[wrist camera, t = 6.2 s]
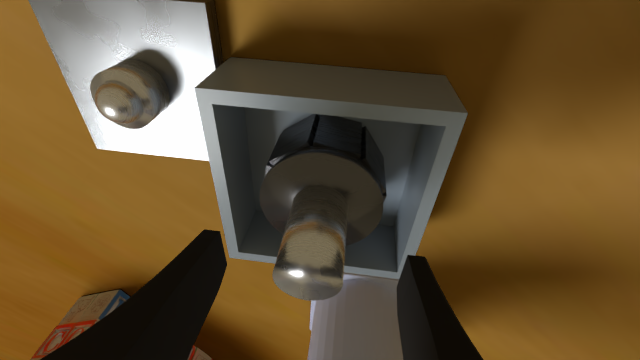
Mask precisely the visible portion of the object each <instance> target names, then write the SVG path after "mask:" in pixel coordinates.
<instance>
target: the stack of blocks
mask: <svg viewBox="0 0 640 360" xmlns="http://www.w3.org/2000/svg"><path fill="white" fill-rule="evenodd" d="M129 298H130V296H128V295H127V294H126V293H124V292H123V291H122V290H114V291H109V292H104V293H100V294H98V293H97V294H93V295H88V296H83V297H80V298H79V299H78V300H77V302H76V303H75V304H74V305H73V307H72V308H71V309H70V310H69V312H68V313H67V314H66V316H65V317H64V318H63V319H62V321H61V322H60V323H59V325H58V326H56V327H55V328H54V330H53V331H52V332H51V334H50V335H49V336H48V337H47V339H46V340H45V341H44V342H43V344H42V345H41V346H40V347H39V349H38V350H37V351H36V353H35V354H34V356H33V357H32V358H31V360H40V359H41V358H43V357H45V356H46V355H48V354H49V353H51V352H53V351H54V350H56V349H58V348H59V347H61V346H62V345H64V344H66V343H67V342H69V341H70V340H72V339H73V338H75V337H76V336H78V335H79V334H81V333H82V332H84V331H85V330H87V329H88V328H90V327H91V326H92V325H94V324H95V323H97V322H98V321H100V320H101V319H102V318H104V317H105V316H107V315H108V314H109V313H111V312H112V311H113V310H115V309H116V308H117V307H119V306H120V305H121V304H122V303H124V302H125V301H126V300H127V299H129ZM188 360H213V359H212V358H211V357H209V356H208V355H207V354H205V353H204V352H203V351H202V350H200V349H199V348H197V347H195V346H194V345H193V347H192V350H191V352H190V355H189V357H188Z"/></svg>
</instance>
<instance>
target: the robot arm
mask: <svg viewBox="0 0 640 360" xmlns="http://www.w3.org/2000/svg"><path fill="white" fill-rule="evenodd" d="M226 266H227V262H226V257H225V253H224V248H223V244H222V239H221V234H220V231H212V230H203V231H202V232H201V233H200V234H199V235H198V236H197V237H196V238H195V239H194V240H193V241H192V242H191V243H190V244H189V245H188V246H187V247H186V248H185V249H184V250H183V251H182V252H181V253H180V254H179V255H178V256H177V257H175V258H174V259H173V260H172V261H171V262H170V263H169V264H168V265H167V266H166V267H165V268H164V269H163V270H161V271H160V272H159V273H158V274H157V275H156V276H155V277H154V278H152V279H151V280H150V281H149V282H148V283H147V284H145V285H144V286H143V287H142V288H141V289H140V290H138V291H137V292H136V293H135V294H134V295H132V296H131V297H130V298H129V299H127V300H126V301H125V302H124V303H122V304H121V305H120V306H119V307H117V308H116V309H115V310H113V311H112V312H111V313H109V314H108V315H107V316H105V317H104V318H102V319H101V320H100V321H98V322H97V323H95V324H94V325H92V326H91V327H90V328H88V329H87V330H85V331H84V332H82V333H81V334H79V335H78V336H76V337H75V338H73V339H72V340H70V341H69V342H67V343H66V344H64V345H62V346H61V347H59V348H58V349H56V350H54V351H53V352H51V353H49V354H48V355H46V356H45V357H43V358H41V359H40V360H188V357H189V355H190V352H191V350H192V347H193V345H194V343H195V341H196V339H197V336H198V334H199V332H200V330H201V328H202V326H203V323H204V321H205V319H206V317H207V315H208V313H209V311H210V308H211V306H212V304H213V302H214V300H215V297H216V295H217V293H218V291H219V288H220V285H221V282H222V279H223V276H224V273H225V270H226ZM310 330H311V339H310V346H309V353H308V360H483V358H482V357H481V355H480V354H479V352H478V351H477V349H476V348H475V346H474V345H473V343H472V342H471V340H470V339H469V337H468V335H467V334H466V332H465V331H464V329H463V327H462V326H461V324H460V322H459V321H458V319H457V317H456V316H455V314H454V312H453V310H452V308H451V307H450V305H449V303H448V301H447V300H446V298H445V296H444V294H443V292H442V290H441V288H440V286H439V284H438V283H437V281H436V279H435V277H434V274H433V272H432V270H431V268H430V266H429V264H428V262H427V260H426V258H425V257H422V256H414V255H407V258H406V261H405V264H404V267H403V270H402V273H401V276H400V278H399V279H392V278H384V277H377V276H369V275H361V274H353V273H346V272H344V276H343V287H342V289H341V291H340V292H339V293H338V294H337V295H335V296H333V297H331V298H329V299H325V300H318V301H312V300H311V313H310Z"/></svg>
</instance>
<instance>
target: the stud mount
mask: <svg viewBox="0 0 640 360" xmlns="http://www.w3.org/2000/svg"><path fill="white" fill-rule="evenodd" d="M29 2H30V5H31V7H32V9H33V11H34V13H35V15H36V17H37V20H38V22H39V24H40V26H41V28H42V30H43V33H44V35H45V37H46V39H47V41H48V43H49V45H50V48H51V50H52V52H53V54H54V56H55V58H56V61H57V63H58V65H59V67H60V69H61V71H62V73H63V76H64V78H65V80H66V82H67V84H68V86H69V88H70V91H71V93H72V95H73V97H74V99H75V101H76V104H77V106H78V108H79V110H80V112H81V114H82V116H83V119H84V121H85V123H86V125H87V127H88V129H89V132H90V134H91V136H92V138H93V140H94V142H95V144H96V147H97V149H104V150H113V151H123V152H132V153H141V154H150V155H160V156H169V157H178V158H187V159H196V160H206V161H209V157H208V152H207V147H206V142H205V138H204V133H203V128H202V123H201V118H200V114H199V109H198V104H197V99H196V94H195V90H194V87H196V86H197V85H198V84H199V83H200V82H201V81H203V80H204V79H205V78H206V77H207V76H209V75H210V74H211V73H212V72H213V71H215V70H216V69H217V68H218V67H219V66H220V65H222V64H223V57H222V50H221V43H220V36H219V29H218V22H217V15H216V8H215V1H214V0H29Z"/></svg>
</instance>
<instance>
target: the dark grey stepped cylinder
mask: <svg viewBox="0 0 640 360" xmlns="http://www.w3.org/2000/svg"><path fill="white" fill-rule="evenodd" d="M386 197H387V194H386V180H385V168H384V156H383V155H382V153H381V151H380V149H379V148H378V146H377V144H376V142H375V141H374V139H373V137H372V136H371V134H370V132H369V130H368V129H367V127H366V126H364V127H362V123H361V122H357V121H354V120H350V119H346V118H343V117H339V116H332V115H321V116H320V117H319V116H318V114H312V115H310V116H309V117H307V118H305V119H303V120H301V121H299V122H297V123H295V124H293V125H292V126H290V127H288V128H286V129H284V130H283V131H282V134H280V136H279V138H278V140H277V142H276V145H275V147H274V149H273V151H272V154H271V156H270V158H269V160H268V163H267V165H266V171H265V177H264V180H263V183H262V185H261V189H260V196H259V198H260V205H261V208H262V211H263V213H264V215H265V217H266V218H267V220H268V221H269V223H270V224H271V225H272V226H273V227H274V228H275V229H276V230H277V231H279V232H280V233H281V234H283V238H282V242H281V245H280V249H279V252H278V256H277V260H276V263H275V267H274V270H273V280H274V282H275V284H276V285H277V286H278V287H279V288H280V289H281V290H282V291H284V292H285V293H287V294H289V295H291V296H293V297H296V298H299V299H304V300H312V301H318V300H325V299H329V298H331V297H333V296H335V295H337V294H338V293H339V292H340V291H341V289H342V287H343V276H344V261H345V246H347V245H351V244H354V243H356V242H358V241H360V240H362V239H364V238H365V237H367V236H368V235H369V234H370V233H372V232H373V230H374V229H375V228H376V227H377V225H378V224H379V222H380V220H381V217H382V213H383V203H384V201H385V199H386Z"/></svg>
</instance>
